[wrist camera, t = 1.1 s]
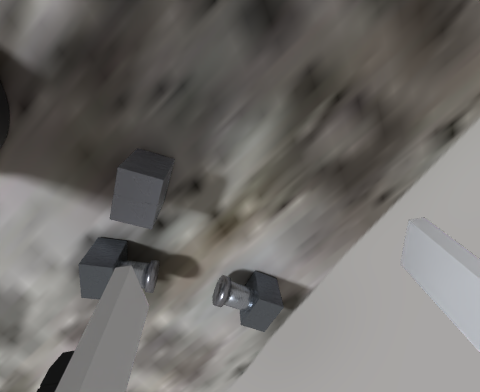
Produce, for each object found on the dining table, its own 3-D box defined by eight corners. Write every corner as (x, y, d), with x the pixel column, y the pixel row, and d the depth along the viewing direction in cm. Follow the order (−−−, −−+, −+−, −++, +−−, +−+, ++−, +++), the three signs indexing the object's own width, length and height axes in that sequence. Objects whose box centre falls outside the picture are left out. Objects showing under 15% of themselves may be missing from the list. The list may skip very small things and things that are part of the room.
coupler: (164, 201, 31) (151, 229, 26) (129, 192, 31) (109, 219, 25) (174, 159, 29) (163, 180, 24) (137, 148, 28) (117, 167, 23)
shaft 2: (211, 285, 38) (210, 315, 33) (226, 260, 36) (227, 288, 31) (259, 301, 40) (264, 331, 35) (276, 278, 38) (283, 307, 33)
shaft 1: (99, 268, 35) (81, 297, 31) (98, 237, 33) (78, 264, 29) (159, 274, 36) (150, 304, 32) (162, 245, 34) (153, 272, 30)
